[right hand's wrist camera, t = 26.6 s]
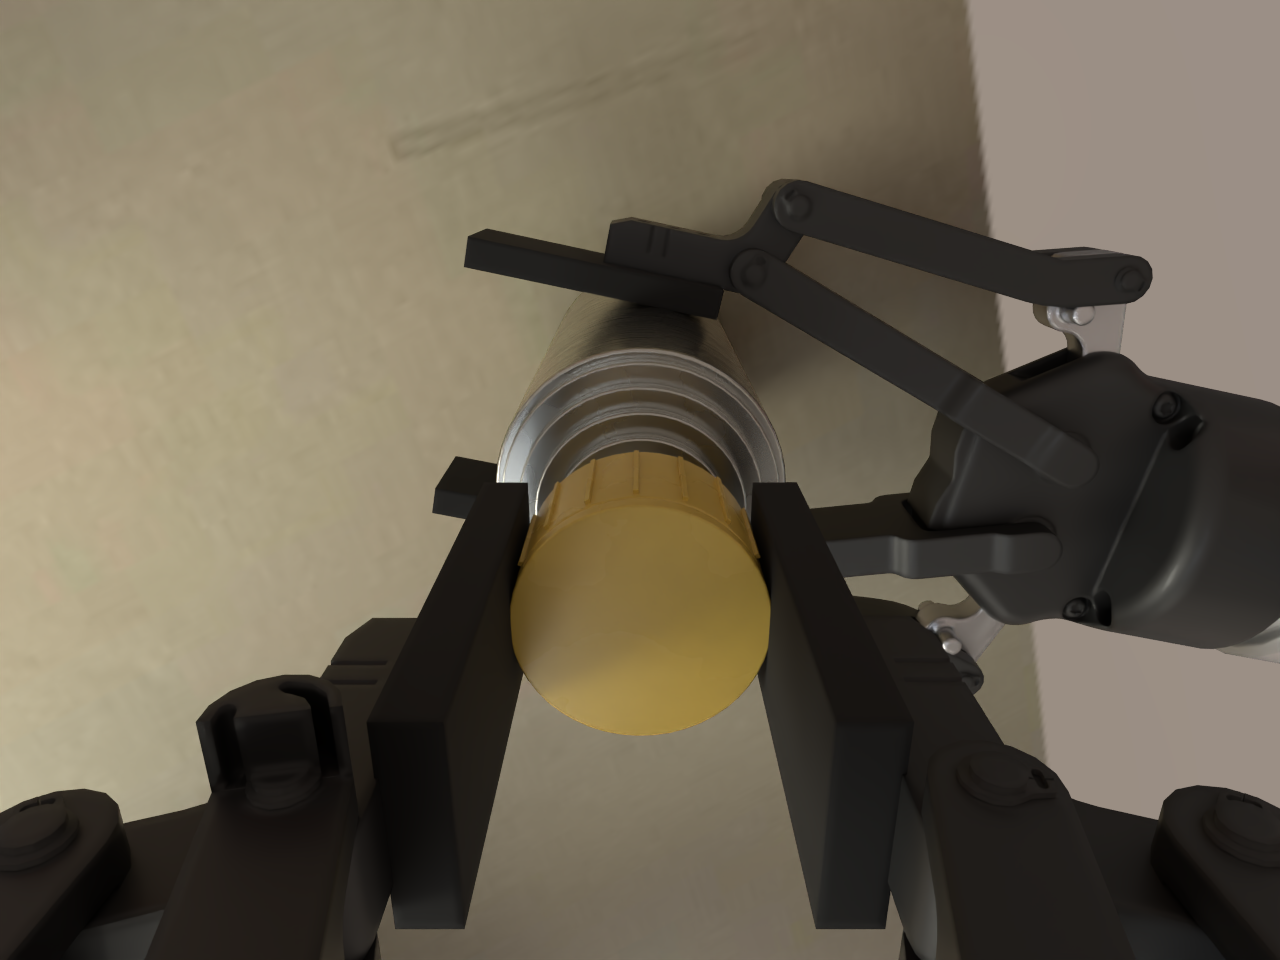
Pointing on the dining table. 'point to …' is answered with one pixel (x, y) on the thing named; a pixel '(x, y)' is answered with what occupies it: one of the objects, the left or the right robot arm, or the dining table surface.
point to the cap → (640, 596)
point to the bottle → (639, 400)
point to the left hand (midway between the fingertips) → (460, 371)
